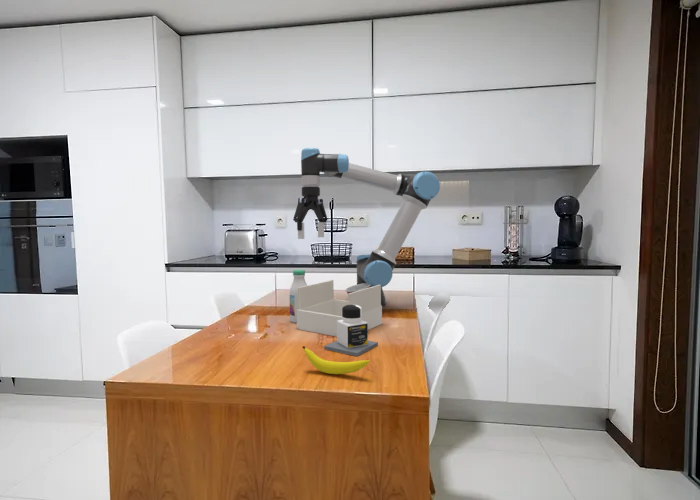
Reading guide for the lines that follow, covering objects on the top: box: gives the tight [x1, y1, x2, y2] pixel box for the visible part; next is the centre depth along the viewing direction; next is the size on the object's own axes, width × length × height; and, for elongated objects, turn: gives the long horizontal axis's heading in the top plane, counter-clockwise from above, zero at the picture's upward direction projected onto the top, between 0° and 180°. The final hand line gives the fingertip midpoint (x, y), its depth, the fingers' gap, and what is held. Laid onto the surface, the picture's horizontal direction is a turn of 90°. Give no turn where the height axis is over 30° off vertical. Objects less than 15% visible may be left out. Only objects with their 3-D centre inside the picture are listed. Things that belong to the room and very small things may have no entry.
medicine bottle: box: [336, 305, 369, 348], centre depth 125 cm, size 7×7×12 cm
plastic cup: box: [344, 283, 371, 295], centre depth 168 cm, size 11×11×12 cm
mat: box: [323, 340, 379, 357], centre depth 125 cm, size 12×12×1 cm
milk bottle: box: [289, 269, 308, 324], centre depth 157 cm, size 8×8×20 cm
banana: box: [302, 345, 371, 375], centre depth 103 cm, size 3×19×6 cm, turn 67°
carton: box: [296, 279, 383, 338], centre depth 149 cm, size 23×23×15 cm
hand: (311, 238), depth 168 cm, fingers open, 13 cm apart
